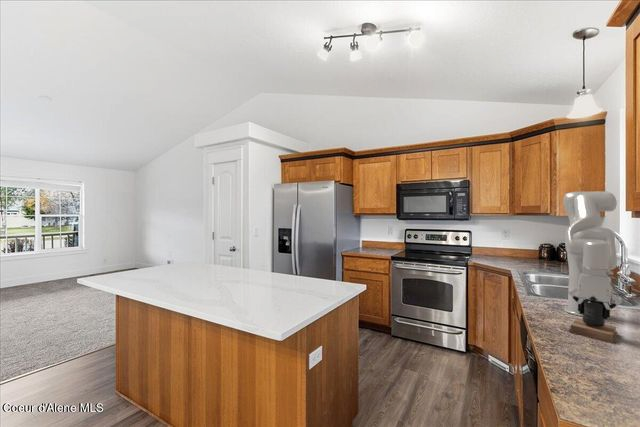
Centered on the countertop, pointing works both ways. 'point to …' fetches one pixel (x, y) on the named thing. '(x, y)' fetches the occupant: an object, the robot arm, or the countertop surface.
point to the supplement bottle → (593, 312)
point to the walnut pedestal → (594, 331)
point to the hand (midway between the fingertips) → (593, 315)
